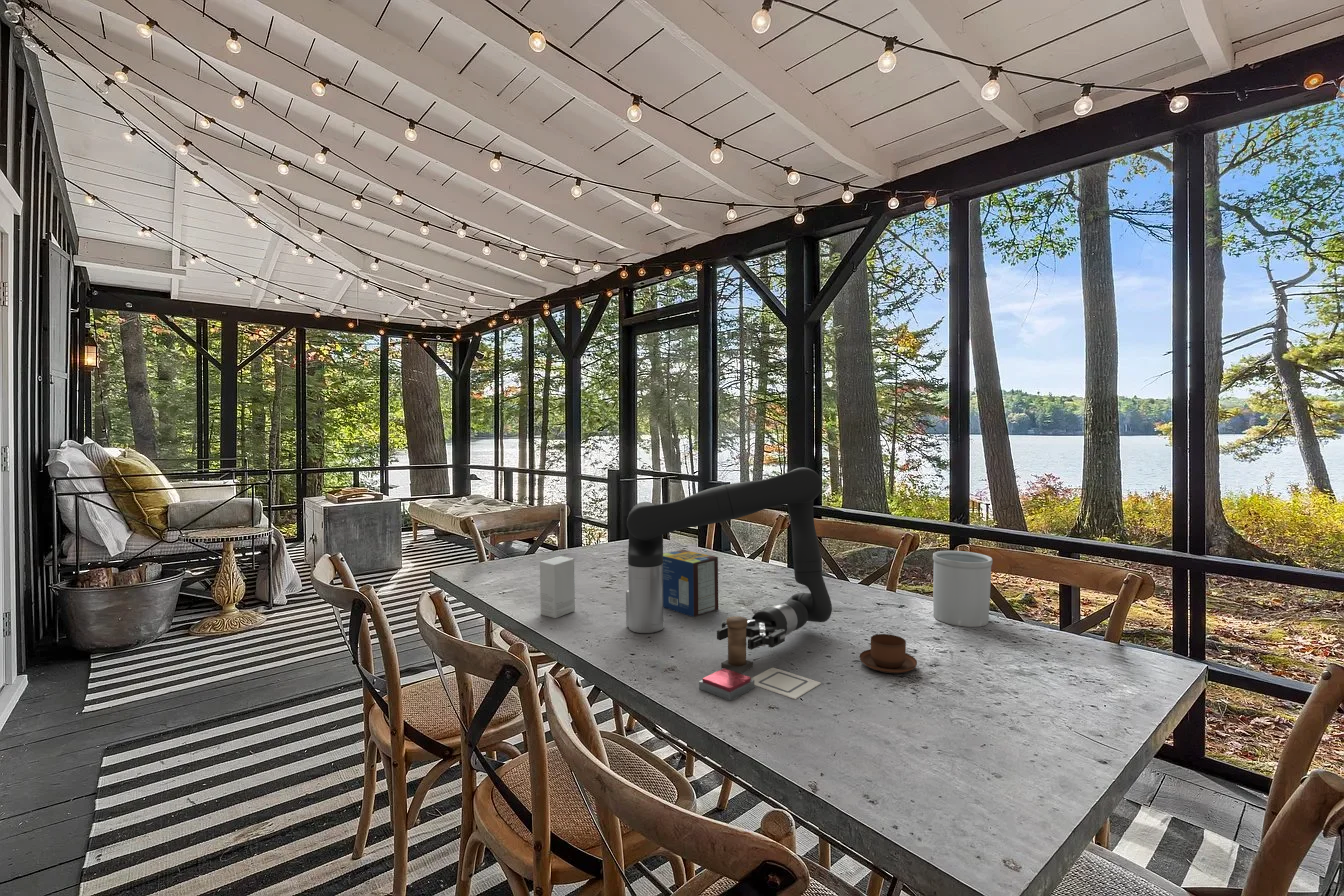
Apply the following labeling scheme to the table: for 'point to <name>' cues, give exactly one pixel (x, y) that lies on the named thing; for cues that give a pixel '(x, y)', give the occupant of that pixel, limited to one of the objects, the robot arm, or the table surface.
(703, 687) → the ink pad
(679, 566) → the protein box
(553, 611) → the skincare box
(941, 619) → the utensil holder
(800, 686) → the sheet
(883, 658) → the cup and saucer
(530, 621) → the table surface
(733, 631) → the stamp
